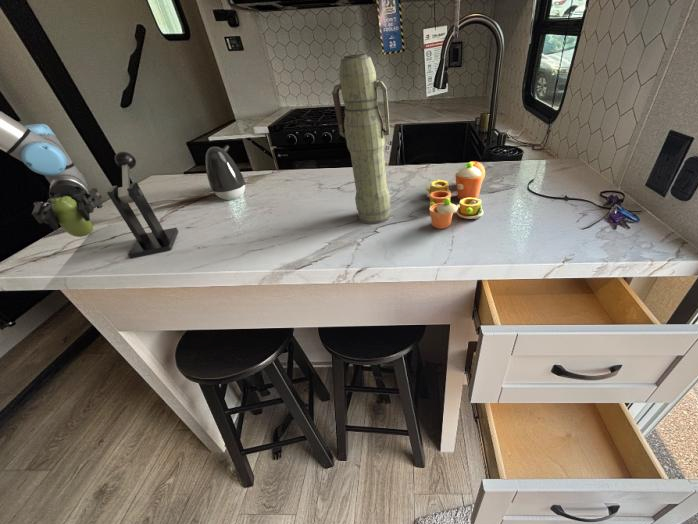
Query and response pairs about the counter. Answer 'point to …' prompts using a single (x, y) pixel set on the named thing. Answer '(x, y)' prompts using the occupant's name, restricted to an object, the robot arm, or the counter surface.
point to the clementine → (478, 167)
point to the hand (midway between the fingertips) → (68, 219)
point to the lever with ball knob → (125, 174)
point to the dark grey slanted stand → (144, 241)
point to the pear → (71, 217)
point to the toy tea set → (466, 191)
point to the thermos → (364, 135)
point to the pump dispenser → (224, 174)
